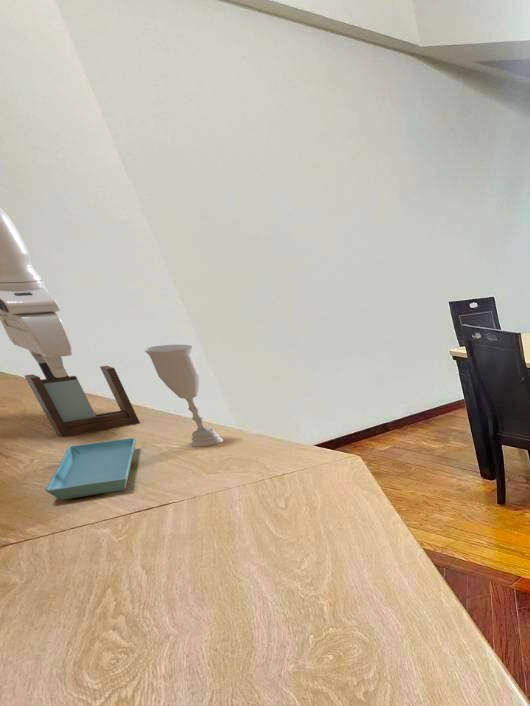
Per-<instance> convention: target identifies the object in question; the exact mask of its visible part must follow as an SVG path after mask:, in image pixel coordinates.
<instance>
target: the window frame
mask: <svg viewBox="0 0 530 706" xmlns="http://www.w3.org/2000/svg"><path fill="white" fill-rule="evenodd" d="M99 368H100V370H101V372H102V374H103V376H104V379H105V380H106V383H107V384H108V387H109V389H110V391H111V393H112V395H113V397H114V399H115V401H116V403H117V405H118V407H119V410H115V411H109V412H103V413H95V415H96V417H92V418H86V419H80V420H74V421H68V422H63V420H62V418H61V416H60V415H59V413H58V411H57V409H56V407H55V405H54V403H53V401H52V400H51V398H50V396H49V394H48V392H47V390H46V388H45V386H44V384H43V383H42V381H41V380H42V379H41V377H40V376H38V375H36V374H25V375H24V378H25V380H26V381H27V383H28V385H29V387H30V389H31V390H32V392H33V394H34V396H35V398H36V400H37V402H38V403H39V405H40V407H41V409H42V411H43V413H44V415H45V416H46V418H47V420H48V422H49V424H50V425H51V427H52V429H53V431H54V433H55V434H56V435H58V436H60V437H62V436H66V437H69V436H68V435H71V436H76V435H75V434H77V435H80V433H82V434H87V432H88V433H92V432H99V431H104V430H109V428H110V429H114V427H116V428H120V427H119V426H121V427H124V426H123V425H127V426H130V425H129V424H132V425H137V424H136V423H138V424H141V422H140V419H139V418H138V415H137V413H136V411H135V409H134V407H133V405H132V402H131V400H130V399H129V398H130V397H129V396H128V394H127V392H126V390H125V388H124V385H123V384H122V381H121V379H120V377H119V375H118V372H117V371H116V369H115V367H113V366H109V365H103V366H102V365H101V366H99ZM98 430H99V431H98Z"/></svg>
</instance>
